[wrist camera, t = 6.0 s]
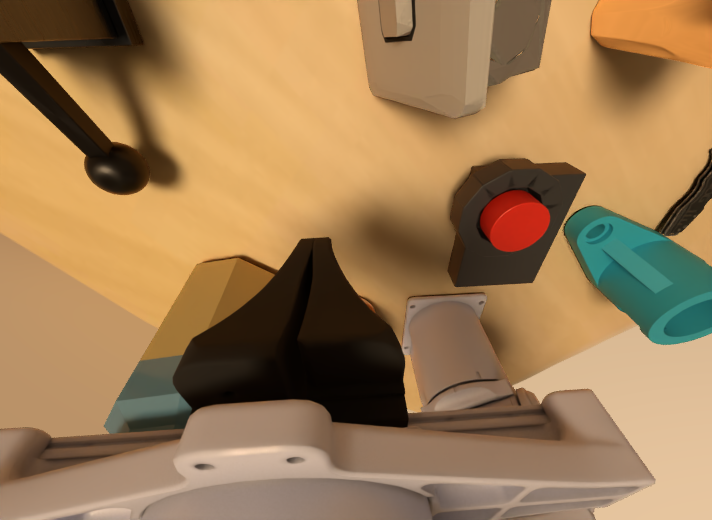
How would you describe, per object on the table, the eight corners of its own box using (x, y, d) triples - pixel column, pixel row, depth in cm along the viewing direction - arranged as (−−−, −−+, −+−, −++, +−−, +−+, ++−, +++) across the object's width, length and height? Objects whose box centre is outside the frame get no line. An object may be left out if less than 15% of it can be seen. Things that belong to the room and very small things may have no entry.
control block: (520, 267, 27) (544, 297, 24) (428, 272, 27) (440, 304, 24) (574, 144, 20) (618, 165, 17) (450, 149, 20) (472, 171, 17)
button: (524, 235, 20) (537, 250, 19) (473, 238, 20) (484, 253, 19) (543, 188, 18) (560, 201, 17) (487, 190, 18) (499, 204, 17)
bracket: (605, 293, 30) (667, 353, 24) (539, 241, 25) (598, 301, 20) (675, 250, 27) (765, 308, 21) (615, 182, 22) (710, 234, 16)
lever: (165, 168, 19) (153, 204, 18) (119, 170, 19) (103, 206, 18) (-67, -130, 9) (-142, -101, 7) (-171, -128, 9) (-268, -98, 7)
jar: (164, 280, 26) (21, 489, 14) (240, 234, 23) (143, 442, 11) (239, 332, 31) (180, 517, 19) (308, 299, 28) (290, 489, 17)
